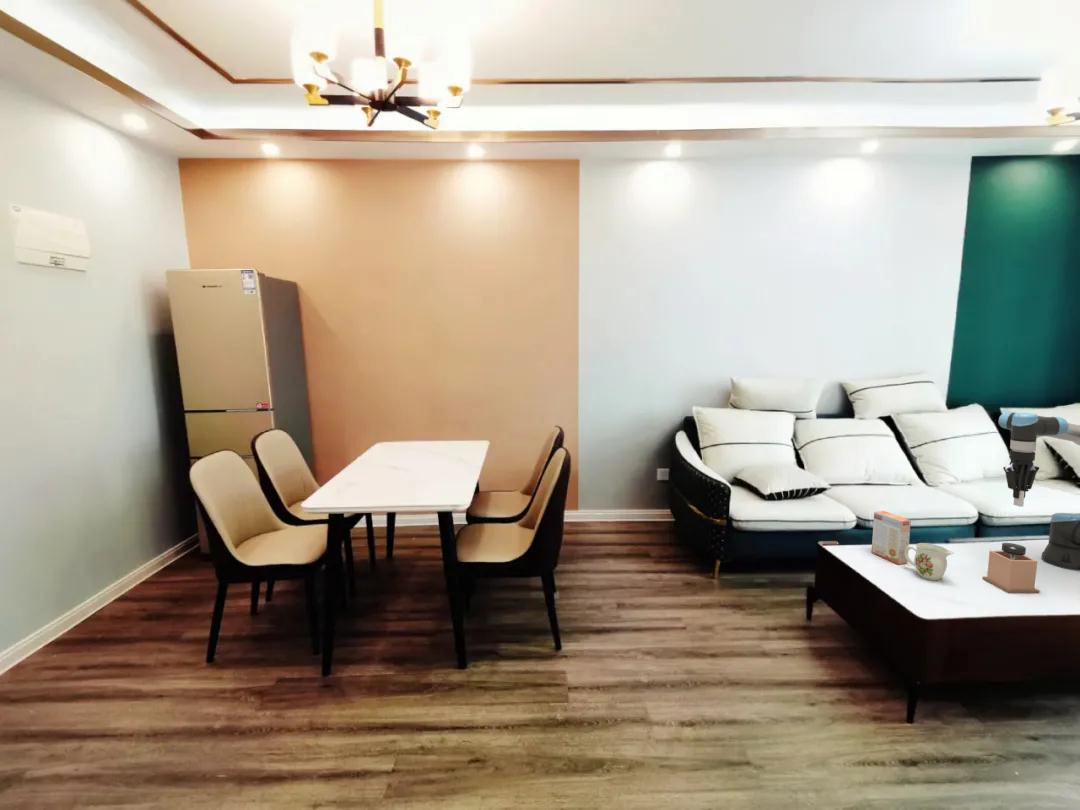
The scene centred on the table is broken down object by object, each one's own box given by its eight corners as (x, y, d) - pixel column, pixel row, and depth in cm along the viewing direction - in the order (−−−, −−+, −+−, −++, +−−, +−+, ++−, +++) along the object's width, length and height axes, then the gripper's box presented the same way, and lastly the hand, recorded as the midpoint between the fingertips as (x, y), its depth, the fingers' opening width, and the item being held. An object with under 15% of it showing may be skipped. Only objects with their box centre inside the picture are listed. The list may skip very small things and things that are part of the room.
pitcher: (911, 565, 221) (913, 536, 220) (958, 582, 205) (960, 550, 204) (896, 569, 217) (898, 540, 215) (943, 587, 201) (946, 555, 199)
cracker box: (908, 563, 223) (911, 519, 220) (897, 565, 222) (900, 521, 219) (881, 551, 236) (884, 510, 234) (870, 552, 235) (873, 511, 233)
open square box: (1011, 579, 207) (1014, 549, 205) (1039, 593, 195) (1042, 562, 193) (982, 579, 207) (985, 549, 206) (1008, 593, 195) (1011, 562, 194)
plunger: (1011, 577, 204) (1014, 542, 203) (1028, 585, 197) (1032, 550, 195) (992, 577, 205) (996, 542, 203) (1009, 585, 197) (1012, 549, 195)
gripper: (1029, 448, 204) (1025, 502, 207) (998, 449, 204) (994, 503, 207) (1047, 451, 197) (1043, 507, 199) (1015, 453, 197) (1011, 509, 200)
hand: (1018, 505), depth 203 cm, fingers closed
